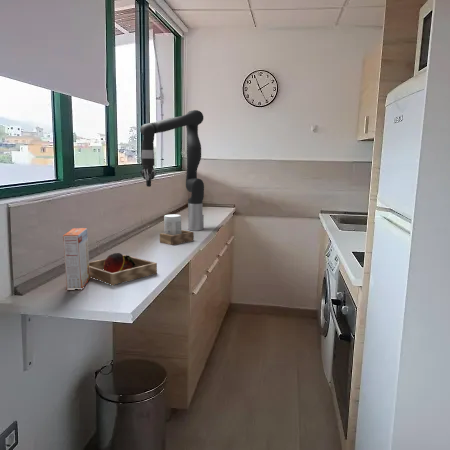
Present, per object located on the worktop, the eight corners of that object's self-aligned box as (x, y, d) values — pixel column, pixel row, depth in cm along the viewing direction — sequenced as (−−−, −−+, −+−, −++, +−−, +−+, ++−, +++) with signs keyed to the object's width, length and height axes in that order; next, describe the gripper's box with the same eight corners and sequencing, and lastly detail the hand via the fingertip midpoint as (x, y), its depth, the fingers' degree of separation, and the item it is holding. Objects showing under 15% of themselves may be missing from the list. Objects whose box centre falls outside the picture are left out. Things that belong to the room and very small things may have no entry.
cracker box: (75, 279, 172) (72, 227, 169) (90, 279, 173) (88, 227, 169) (65, 291, 158) (61, 234, 155) (82, 290, 159) (79, 234, 155)
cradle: (180, 238, 255) (180, 229, 254) (193, 240, 248) (193, 232, 247) (159, 242, 243) (159, 233, 242) (172, 245, 236) (172, 236, 235)
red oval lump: (120, 288, 188) (93, 276, 177) (126, 261, 193) (100, 248, 182) (141, 285, 181) (114, 273, 170) (146, 258, 187) (121, 244, 176)
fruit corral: (124, 264, 195) (124, 254, 195) (156, 273, 181) (156, 263, 181) (80, 274, 179) (80, 264, 178) (112, 285, 165) (111, 274, 164)
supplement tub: (179, 238, 253) (179, 213, 250) (183, 242, 244) (183, 216, 241) (163, 239, 250) (162, 214, 247) (166, 243, 241) (165, 217, 238)
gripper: (160, 157, 260) (160, 186, 263) (145, 157, 269) (146, 185, 272) (150, 157, 255) (151, 187, 257) (136, 157, 263) (137, 186, 266)
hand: (148, 186), depth 265 cm, fingers closed
